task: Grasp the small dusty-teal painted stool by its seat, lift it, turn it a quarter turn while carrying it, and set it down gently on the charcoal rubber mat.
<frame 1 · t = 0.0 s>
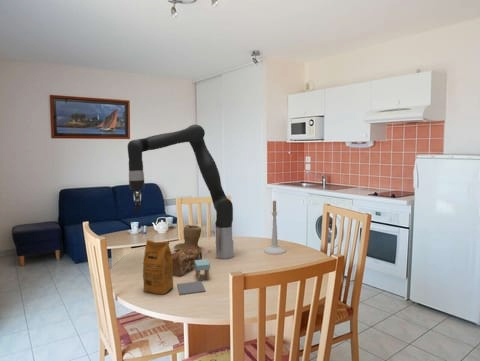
hand: (138, 210, 184), 29 cm above the table, fingers open, 8 cm apart
bread: (184, 269, 181), on the table
candlestick: (274, 251, 208), on the table
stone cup: (189, 250, 212), on the table
coffee package: (158, 290, 156), on the table
stool: (202, 277, 169), on the table
mat: (190, 288, 157), on the table
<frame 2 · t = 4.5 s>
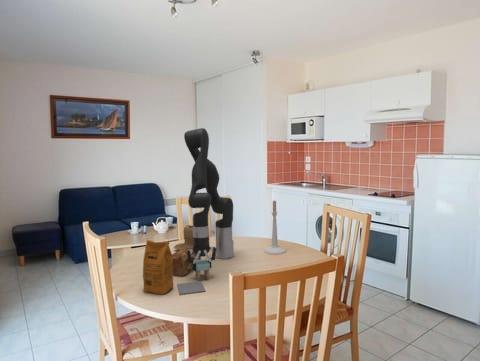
hand: (202, 269, 169), 4 cm above the table, fingers closed on stool, 6 cm apart
stool: (202, 277, 169), on the table, touching gripper
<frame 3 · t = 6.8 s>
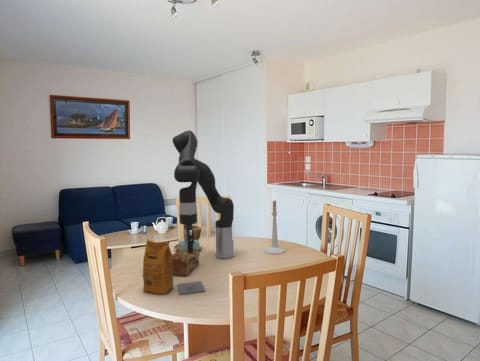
hand: (189, 250, 155), 17 cm above the table, fingers closed on stool, 6 cm apart
stool: (189, 258, 155), point 13 cm above the table, touching gripper
when the fingers open (5 cm above the table, at t = 9.6 s): stool stays where it is, resting on mat.
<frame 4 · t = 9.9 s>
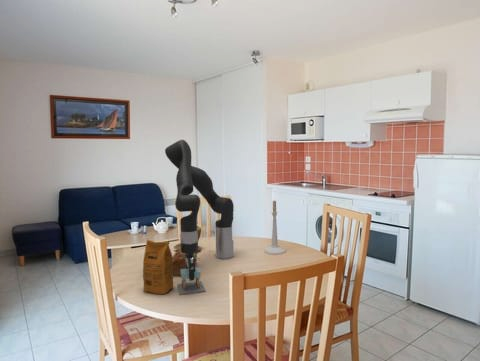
hand: (190, 276, 156), 5 cm above the table, fingers open, 8 cm apart
stool: (190, 286, 157), point 1 cm above the table, touching mat
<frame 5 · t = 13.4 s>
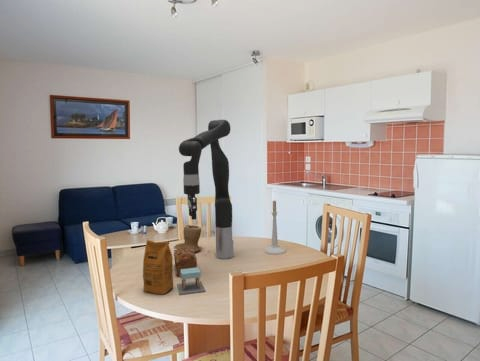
hand: (192, 217, 170), 28 cm above the table, fingers open, 8 cm apart
at the end: stool inside the target area on the mat (0.1 cm from its centre), point 0.6 cm above the mat's base; stool tilted 0°; the gripper is holding nothing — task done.
